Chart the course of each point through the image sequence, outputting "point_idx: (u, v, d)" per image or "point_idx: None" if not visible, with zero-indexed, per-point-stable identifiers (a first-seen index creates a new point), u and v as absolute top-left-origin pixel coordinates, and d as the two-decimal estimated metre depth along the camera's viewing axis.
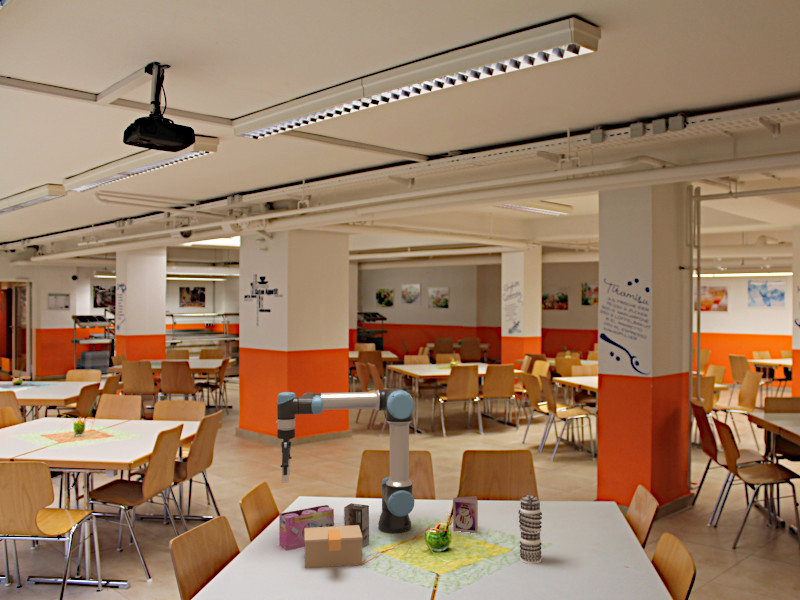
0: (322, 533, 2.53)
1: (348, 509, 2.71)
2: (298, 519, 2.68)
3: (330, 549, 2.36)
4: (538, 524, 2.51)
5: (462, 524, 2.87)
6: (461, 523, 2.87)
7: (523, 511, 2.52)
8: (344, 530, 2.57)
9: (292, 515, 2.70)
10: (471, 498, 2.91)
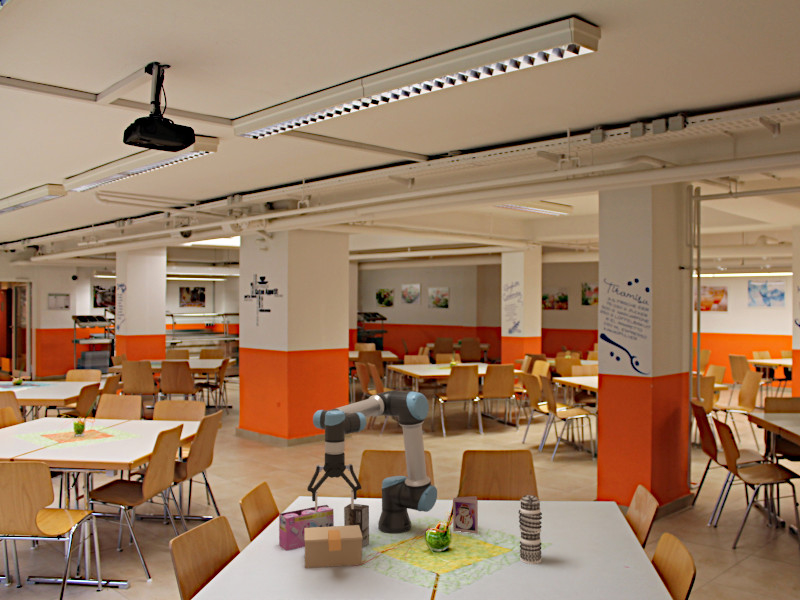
0: (322, 533, 2.53)
1: (348, 509, 2.71)
2: (298, 519, 2.68)
3: (330, 549, 2.36)
4: (538, 524, 2.51)
5: (462, 524, 2.87)
6: (461, 523, 2.87)
7: (523, 511, 2.52)
8: (344, 530, 2.57)
9: (292, 515, 2.70)
10: (471, 498, 2.91)
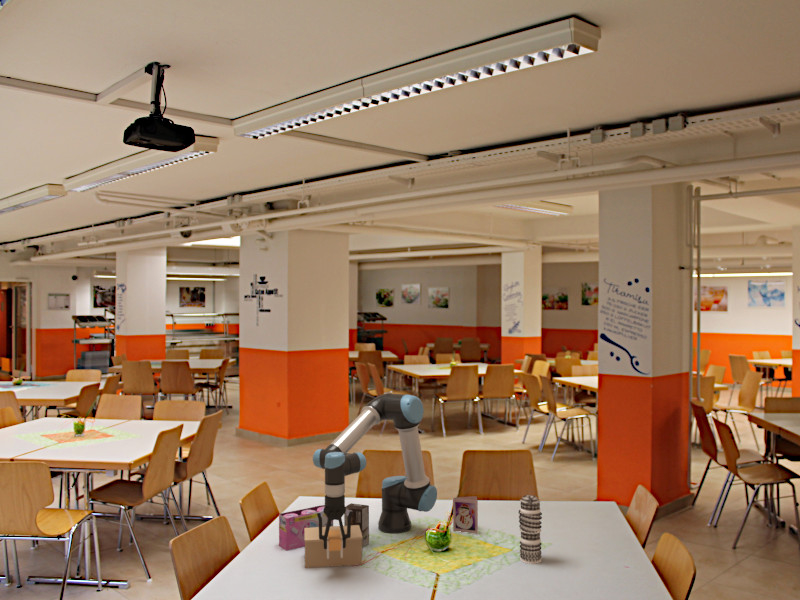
0: (322, 533, 2.53)
1: (348, 509, 2.71)
2: (298, 519, 2.68)
3: (330, 549, 2.36)
4: (538, 524, 2.51)
5: (462, 524, 2.87)
6: (461, 523, 2.87)
7: (523, 511, 2.52)
8: (344, 530, 2.57)
9: (292, 515, 2.70)
10: (471, 498, 2.91)
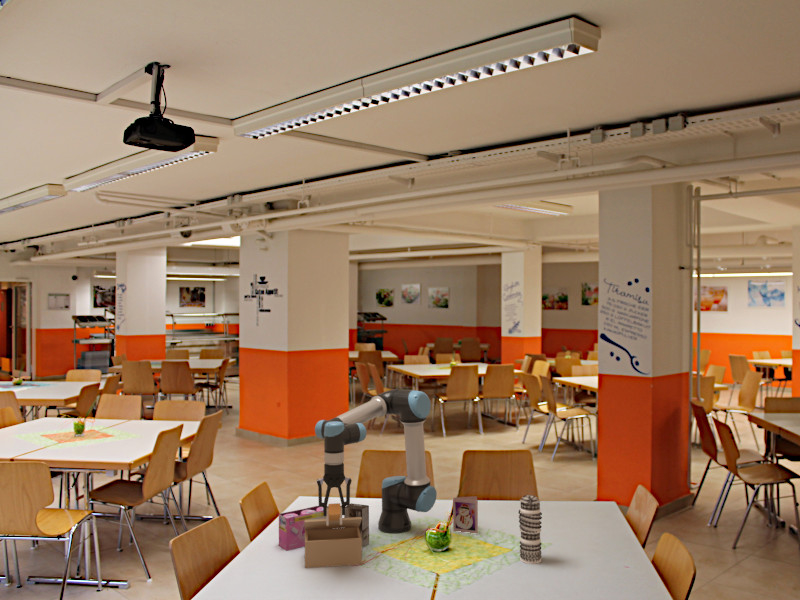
0: None
1: (348, 509, 2.71)
2: (298, 519, 2.68)
3: (330, 513, 2.40)
4: (538, 524, 2.51)
5: (462, 524, 2.87)
6: (461, 523, 2.87)
7: (523, 511, 2.52)
8: None
9: (292, 515, 2.70)
10: (471, 498, 2.91)
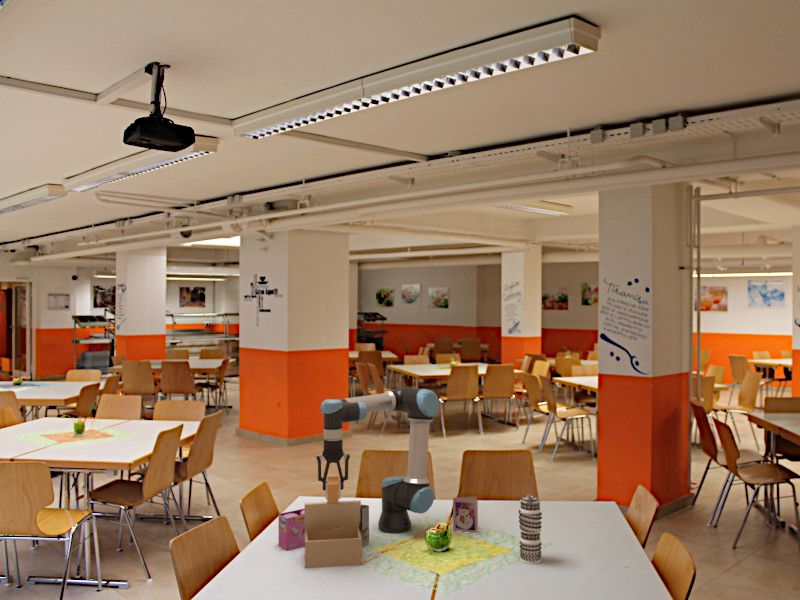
0: None
1: None
2: (298, 519, 2.68)
3: (329, 483, 2.49)
4: (538, 524, 2.51)
5: (462, 524, 2.87)
6: (461, 523, 2.87)
7: (523, 511, 2.52)
8: None
9: (291, 515, 2.70)
10: (471, 498, 2.91)
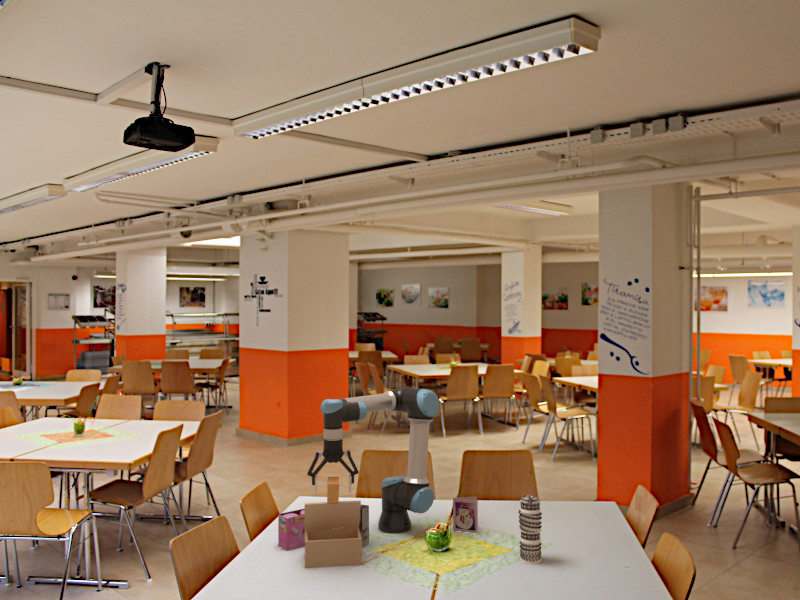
0: None
1: None
2: (298, 519, 2.68)
3: (329, 483, 2.49)
4: (538, 524, 2.51)
5: (462, 524, 2.87)
6: (461, 523, 2.87)
7: (523, 511, 2.52)
8: None
9: (291, 515, 2.70)
10: (471, 498, 2.91)
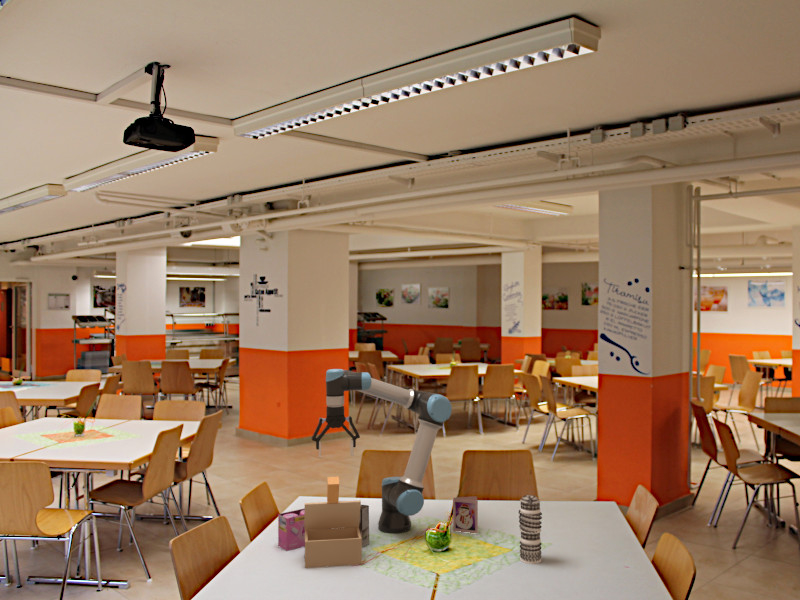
0: None
1: None
2: (298, 519, 2.68)
3: (329, 483, 2.49)
4: (538, 524, 2.51)
5: (462, 524, 2.87)
6: (461, 523, 2.87)
7: (523, 511, 2.52)
8: None
9: (291, 515, 2.70)
10: (471, 498, 2.91)
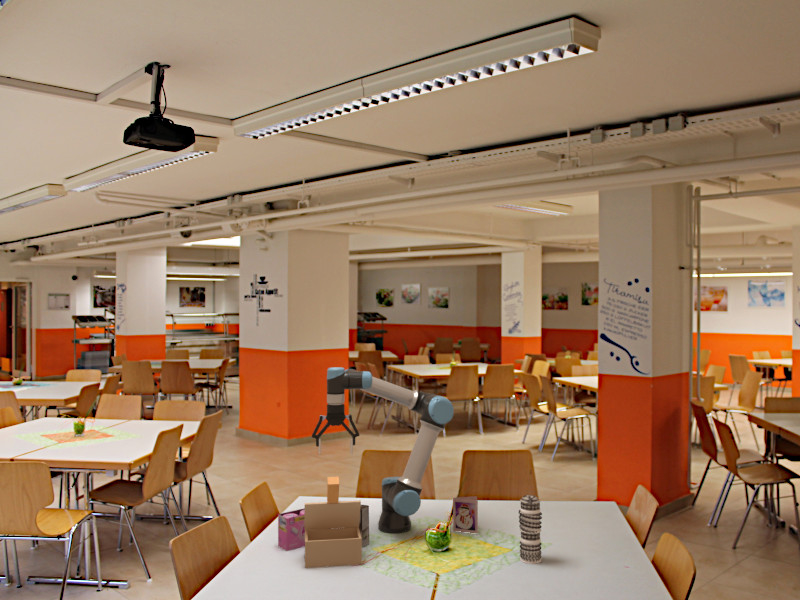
0: None
1: None
2: (298, 519, 2.68)
3: (329, 483, 2.49)
4: (538, 524, 2.51)
5: (462, 524, 2.87)
6: (461, 523, 2.87)
7: (523, 511, 2.52)
8: None
9: (291, 515, 2.70)
10: (471, 498, 2.91)
